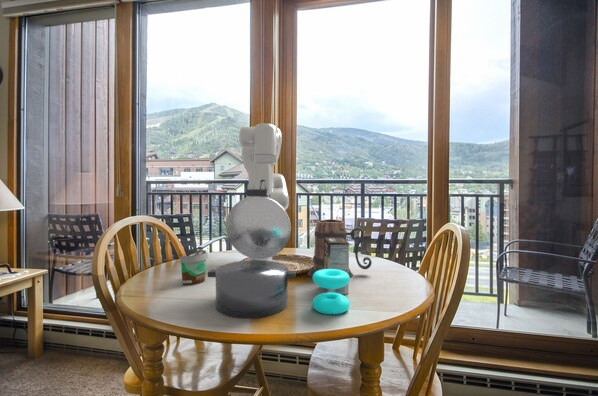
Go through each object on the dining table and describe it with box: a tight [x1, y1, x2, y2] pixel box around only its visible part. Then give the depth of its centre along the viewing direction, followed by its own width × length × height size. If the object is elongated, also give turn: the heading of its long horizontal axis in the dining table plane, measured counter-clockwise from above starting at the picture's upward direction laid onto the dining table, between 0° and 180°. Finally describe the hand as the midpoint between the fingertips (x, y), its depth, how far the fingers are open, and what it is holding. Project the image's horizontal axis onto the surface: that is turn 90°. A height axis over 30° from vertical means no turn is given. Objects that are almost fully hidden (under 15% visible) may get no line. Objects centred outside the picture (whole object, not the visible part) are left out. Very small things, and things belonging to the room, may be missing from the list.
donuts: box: [312, 269, 351, 315], centre depth 89 cm, size 10×10×10 cm
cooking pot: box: [207, 259, 297, 319], centre depth 93 cm, size 20×24×10 cm
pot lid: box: [225, 188, 292, 259], centre depth 102 cm, size 22×20×3 cm
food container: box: [179, 248, 209, 286], centre depth 113 cm, size 12×6×10 cm, turn 168°
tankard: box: [307, 219, 373, 279], centre depth 123 cm, size 24×17×20 cm
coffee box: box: [324, 238, 350, 295], centre depth 105 cm, size 9×6×16 cm
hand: (265, 214), depth 113 cm, fingers closed
